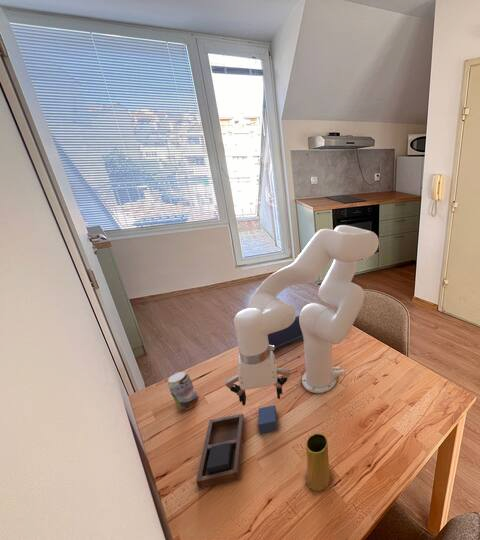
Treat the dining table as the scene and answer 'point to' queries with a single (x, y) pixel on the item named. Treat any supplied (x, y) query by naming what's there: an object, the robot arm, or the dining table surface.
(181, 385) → the beverage can
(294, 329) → the portable speaker
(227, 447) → the dark grey rectangular block
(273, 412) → the blue rectangular block
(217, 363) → the dining table surface
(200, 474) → the brown divided wooden tray
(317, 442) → the vase
